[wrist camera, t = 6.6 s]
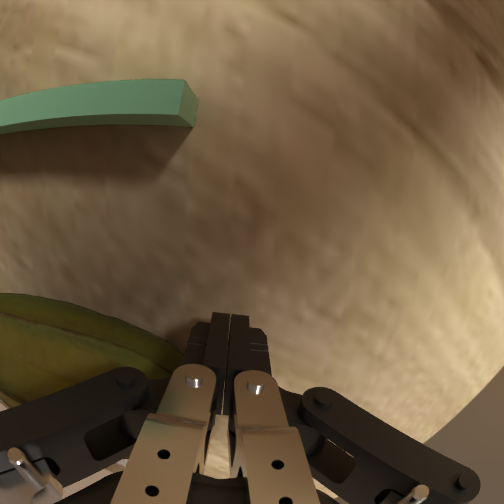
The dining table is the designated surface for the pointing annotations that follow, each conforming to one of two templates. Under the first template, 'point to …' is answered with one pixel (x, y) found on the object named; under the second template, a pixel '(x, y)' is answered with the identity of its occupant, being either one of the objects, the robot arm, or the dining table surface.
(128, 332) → the fruit
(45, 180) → the dining table surface
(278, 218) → the dining table surface
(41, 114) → the mint frame with pennant
